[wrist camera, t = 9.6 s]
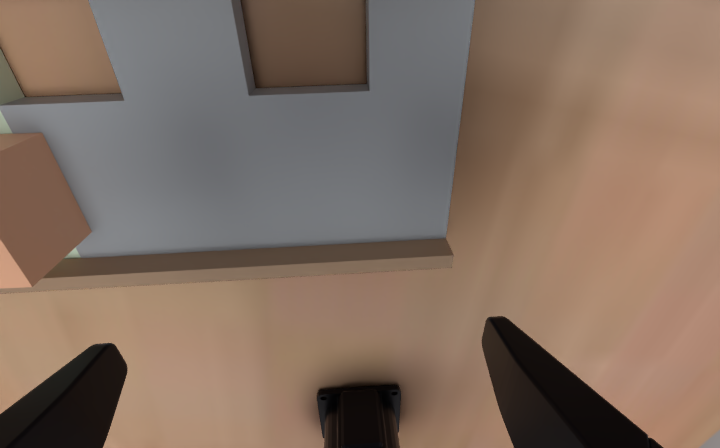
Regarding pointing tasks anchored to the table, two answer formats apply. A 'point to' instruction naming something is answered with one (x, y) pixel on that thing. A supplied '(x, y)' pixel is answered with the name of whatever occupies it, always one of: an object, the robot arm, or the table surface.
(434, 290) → the table surface
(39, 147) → the terracotta block
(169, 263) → the box
